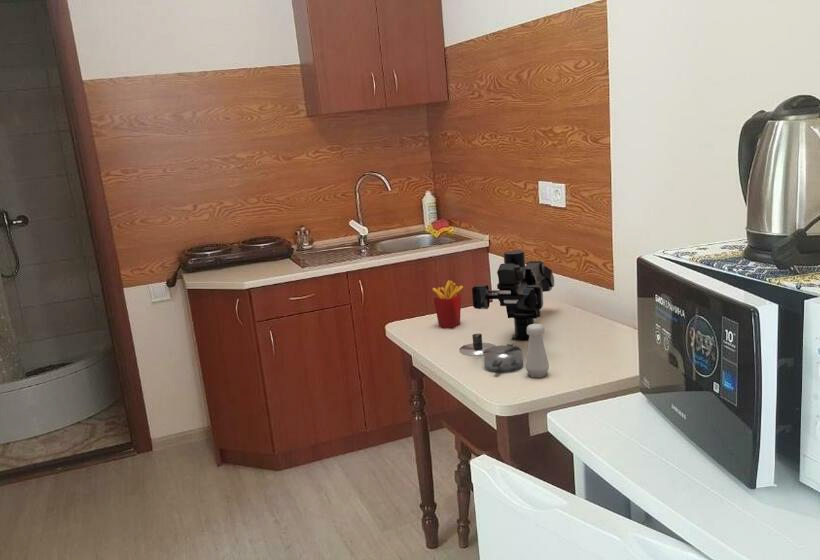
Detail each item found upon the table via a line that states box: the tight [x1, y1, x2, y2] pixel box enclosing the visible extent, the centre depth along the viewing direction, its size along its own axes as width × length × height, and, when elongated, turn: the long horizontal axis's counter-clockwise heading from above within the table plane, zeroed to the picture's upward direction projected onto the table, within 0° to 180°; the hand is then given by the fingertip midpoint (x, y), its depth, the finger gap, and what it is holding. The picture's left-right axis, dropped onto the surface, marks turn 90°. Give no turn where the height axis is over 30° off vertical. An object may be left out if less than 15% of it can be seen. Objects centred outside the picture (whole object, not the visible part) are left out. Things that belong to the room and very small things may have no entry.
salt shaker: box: [525, 323, 550, 378], centre depth 179 cm, size 6×6×13 cm
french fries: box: [431, 279, 464, 329], centre depth 227 cm, size 9×8×15 cm
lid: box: [458, 333, 497, 357], centre depth 203 cm, size 11×11×5 cm
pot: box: [483, 344, 524, 374], centre depth 188 cm, size 15×10×4 cm, turn 158°
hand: (499, 305), depth 184 cm, fingers open, 9 cm apart
